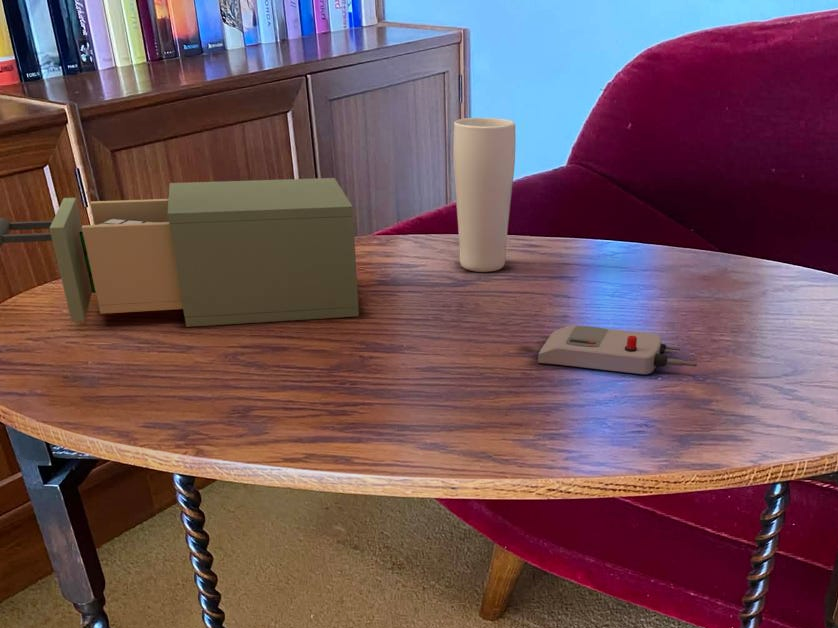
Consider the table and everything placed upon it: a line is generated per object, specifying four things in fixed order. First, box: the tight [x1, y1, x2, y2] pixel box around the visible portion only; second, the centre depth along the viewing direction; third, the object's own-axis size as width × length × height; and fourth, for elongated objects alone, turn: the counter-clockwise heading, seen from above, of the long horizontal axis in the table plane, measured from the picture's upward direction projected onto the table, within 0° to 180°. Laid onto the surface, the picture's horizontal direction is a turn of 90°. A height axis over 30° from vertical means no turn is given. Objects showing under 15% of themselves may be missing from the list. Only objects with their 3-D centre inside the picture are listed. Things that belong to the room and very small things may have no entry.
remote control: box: [528, 324, 698, 375], centre depth 86 cm, size 7×16×3 cm, turn 74°
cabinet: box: [168, 177, 360, 328], centre depth 97 cm, size 17×14×10 cm
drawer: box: [0, 197, 183, 323], centre depth 94 cm, size 22×13×8 cm, turn 104°
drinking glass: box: [452, 117, 516, 273], centre depth 107 cm, size 7×7×15 cm
